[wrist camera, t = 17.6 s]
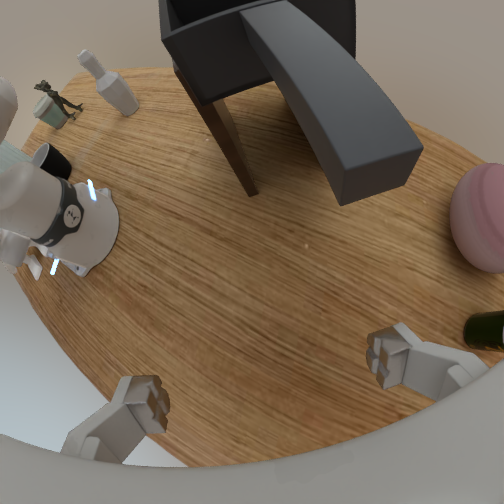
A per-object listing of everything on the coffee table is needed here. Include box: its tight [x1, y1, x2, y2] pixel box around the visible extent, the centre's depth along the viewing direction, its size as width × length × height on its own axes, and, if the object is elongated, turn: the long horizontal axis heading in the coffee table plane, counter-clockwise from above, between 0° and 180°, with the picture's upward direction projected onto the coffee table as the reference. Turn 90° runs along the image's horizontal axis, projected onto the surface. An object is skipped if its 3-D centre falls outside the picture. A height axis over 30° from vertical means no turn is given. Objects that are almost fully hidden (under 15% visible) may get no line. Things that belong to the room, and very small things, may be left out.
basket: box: [159, 0, 423, 206], centre depth 13 cm, size 24×11×6 cm, turn 16°
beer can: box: [464, 310, 504, 352], centre depth 24 cm, size 5×5×12 cm
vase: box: [0, 140, 32, 175], centre depth 52 cm, size 12×12×22 cm
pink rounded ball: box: [449, 163, 504, 273], centre depth 26 cm, size 15×15×15 cm
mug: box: [31, 143, 71, 180], centre depth 53 cm, size 12×9×10 cm
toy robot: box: [0, 228, 48, 281], centre depth 44 cm, size 14×9×20 cm, turn 149°
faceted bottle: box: [77, 49, 139, 116], centre depth 46 cm, size 6×6×22 cm
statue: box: [34, 80, 83, 120], centre depth 55 cm, size 5×6×20 cm
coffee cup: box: [33, 95, 68, 129], centre depth 61 cm, size 8×8×12 cm
